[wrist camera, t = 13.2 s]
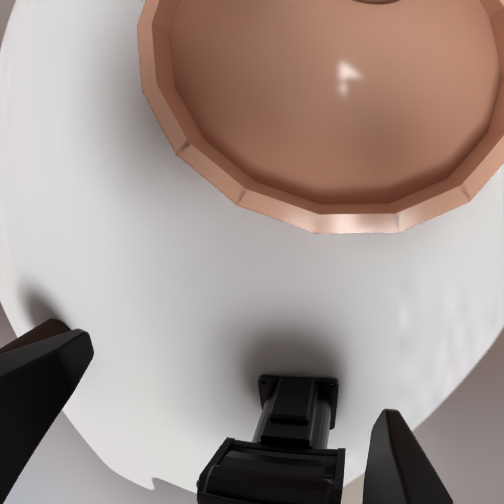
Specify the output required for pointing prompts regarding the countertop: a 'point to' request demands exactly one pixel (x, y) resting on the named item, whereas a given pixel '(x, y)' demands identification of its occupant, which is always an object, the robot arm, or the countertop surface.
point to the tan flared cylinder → (377, 1)
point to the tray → (331, 104)
